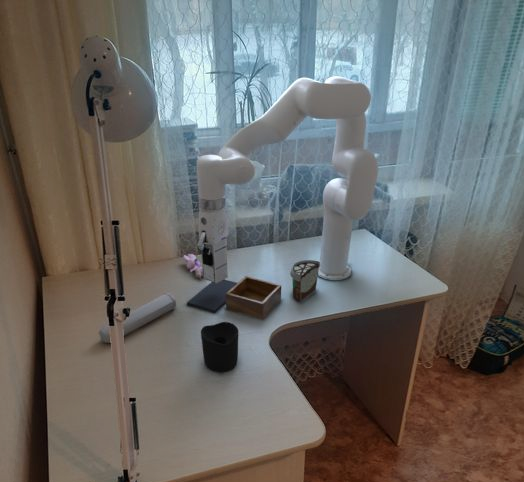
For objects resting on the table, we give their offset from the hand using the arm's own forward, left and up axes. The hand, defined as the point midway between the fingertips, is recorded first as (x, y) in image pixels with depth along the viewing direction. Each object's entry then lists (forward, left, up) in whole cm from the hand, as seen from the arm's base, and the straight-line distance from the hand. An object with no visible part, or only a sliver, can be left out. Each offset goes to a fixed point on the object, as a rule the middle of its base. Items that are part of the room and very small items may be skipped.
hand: (214, 259), depth 150 cm
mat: (0, 0, -13) cm, 13 cm away
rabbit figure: (-11, -15, -13) cm, 23 cm away
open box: (-1, +13, -13) cm, 18 cm away
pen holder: (+29, +19, -13) cm, 37 cm away
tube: (+25, -11, -13) cm, 30 cm away
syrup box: (0, 0, -6) cm, 6 cm away
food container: (-14, +23, -13) cm, 30 cm away
